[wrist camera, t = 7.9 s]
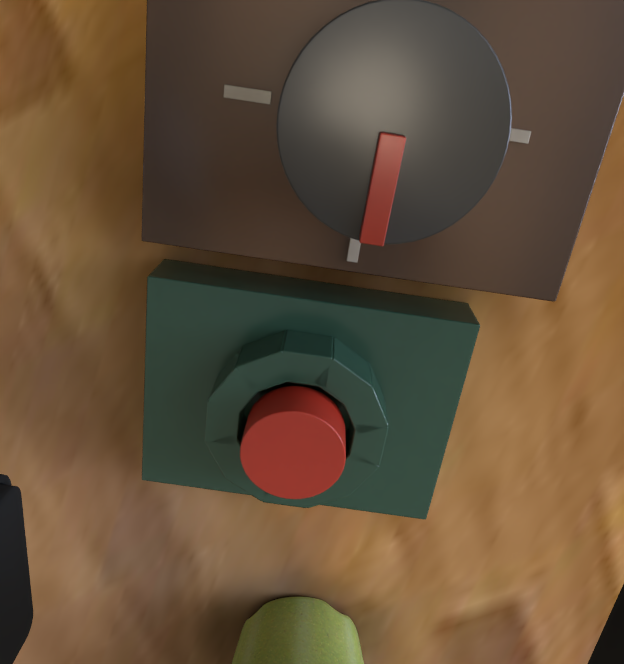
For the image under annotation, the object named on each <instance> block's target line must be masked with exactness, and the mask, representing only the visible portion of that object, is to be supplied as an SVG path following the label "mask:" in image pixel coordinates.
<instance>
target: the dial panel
mask: <svg viewBox="0 0 624 664" xmlns="http://www.w3.org/2000/svg"><path fill="white" fill-rule="evenodd" d="M369 1H374V0H147V26H146V70H145V114H144V158H143V202H142V241H146V242H153V243H160V244H167V245H173V246H180V247H187V248H194V249H201V250H207V251H214V252H221V253H228V254H235V255H241V256H248V257H255V258H262V259H269V260H275V261H282V262H289V263H296V264H303V265H309V266H316V267H323V268H330V269H337V270H343V271H350V272H357V273H364V274H370V275H377V276H384V277H391V278H398V279H404V280H411V281H418V282H425V283H432V284H438V285H445V286H452V287H459V288H466V289H472V290H479V291H486V292H493V293H500V294H506V295H513V296H520V297H527V298H534V299H540V300H547V301H556V298H557V295H558V292H559V289H560V286H561V283H562V280H563V277H564V274H565V271H566V268H567V265H568V262H569V259H570V256H571V253H572V250H573V247H574V244H575V241H576V238H577V235H578V232H579V229H580V226H581V223H582V220H583V216H584V213H585V210H586V207H587V204H588V201H589V198H590V195H591V192H592V189H593V186H594V183H595V180H596V177H597V174H598V171H599V168H600V165H601V162H602V159H603V156H604V153H605V150H606V147H607V144H608V141H609V138H610V135H611V132H612V129H613V126H614V123H615V120H616V117H617V114H618V110H619V107H620V104H621V101H622V98H623V95H624V0H426V1H430V2H434V3H437V4H439V5H441V6H444V7H446V8H448V9H451V10H452V11H454V12H456V13H457V14H459V15H460V16H462V17H464V18H465V19H466V20H467V21H469V22H470V23H471V24H472V25H473V26H475V27H476V28H477V29H478V30H479V31H480V33H481V34H482V35H483V36H484V37H485V38H486V39H487V41H488V42H489V44H490V45H491V47H492V48H493V50H494V51H495V53H496V54H497V56H498V58H499V61H500V63H501V65H502V67H503V69H504V72H505V75H506V79H507V82H508V85H509V91H510V97H511V107H512V122H511V134H510V139H509V143H508V148H507V152H506V154H505V157H504V160H503V163H502V166H501V168H500V170H499V172H498V174H497V176H496V178H495V180H494V182H493V183H492V185H491V186H490V188H489V189H488V191H487V193H486V194H485V195H484V196H483V197H482V199H481V200H480V201H479V202H478V204H477V205H476V206H475V207H474V208H473V209H472V210H470V211H469V212H468V213H467V214H466V215H465V216H464V217H463V218H461V219H460V220H459V221H457V222H456V223H455V224H453V225H452V226H450V227H448V228H446V229H445V230H443V231H441V232H439V233H437V234H435V235H432V236H430V237H428V238H424V239H421V240H418V241H414V242H409V243H403V244H386V245H384V246H376V245H370V244H364V243H360V242H359V241H358V240H355V239H352V238H350V237H347V236H344V235H342V234H340V233H338V232H336V231H334V230H333V229H331V228H329V227H328V226H326V225H325V224H324V223H322V222H321V221H319V220H318V219H317V218H316V217H315V216H314V215H313V214H312V213H311V212H310V211H309V210H308V209H307V208H306V207H305V206H304V204H303V203H302V202H301V201H300V200H299V198H298V197H297V195H296V193H295V192H294V190H293V189H292V187H291V185H290V183H289V181H288V179H287V177H286V175H285V172H284V169H283V166H282V163H281V160H280V155H279V150H278V145H277V131H276V124H277V110H278V105H279V99H280V95H281V91H282V88H283V85H284V82H285V79H286V77H287V75H288V73H289V70H290V68H291V66H292V64H293V62H294V61H295V59H296V58H297V56H298V54H299V53H300V51H301V50H302V48H303V47H304V46H305V45H306V44H307V42H308V41H309V40H310V39H311V37H312V36H313V35H314V34H316V33H317V32H318V31H319V30H320V29H321V28H322V27H323V26H324V25H325V24H327V23H328V22H329V21H331V20H332V19H334V18H335V17H336V16H338V15H340V14H341V13H343V12H345V11H347V10H349V9H351V8H353V7H355V6H358V5H361V4H364V3H367V2H369Z"/></svg>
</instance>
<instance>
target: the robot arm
mask: <svg viewBox="0 0 624 664" xmlns="http://www.w3.org/2000/svg"><path fill="white" fill-rule="evenodd" d="M32 619H33V605H32V596H31V586H30V576H29V566H28V557H27V547H26V537H25V527H24V518H23V508H22V498H21V492H20V489H19V487H17V486H12V485H11V481H10V479H9V477H8V476H7V475H3V474H0V664H13V662H14V660H15V658H16V656H17V655H18V653H19V651H20V649H21V647H22V646H23V644H24V642H25V640H26V638H27V636H28V634H29V631H30V628H31V624H32ZM588 664H624V584H623V587H622V589H621V591H620V593H619V596H618V598H617V600H616V602H615V604H614V607H613V609H612V611H611V613H610V615H609V618H608V620H607V622H606V624H605V627H604V629H603V631H602V633H601V635H600V638H599V640H598V642H597V644H596V646H595V649H594V651H593V653H592V655H591V658H590V660H589V662H588Z"/></svg>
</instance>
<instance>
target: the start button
mask: <svg viewBox="0 0 624 664" xmlns="http://www.w3.org/2000/svg"><path fill="white" fill-rule="evenodd" d="M240 460H241V464H242V467H243V469H244V471H245V473H246V474H247V476H248V477H249V479H250V480H251V481H252V482H253V483H254V484H255V485H256V486H258V487H259V488H260V489H262V490H263V491H265V492H267V493H269V494H271V495H274V496H277V497H281V498H286V499H303V498H309V497H313V496H315V495H318V494H320V493H322V492H324V491H326V490H327V489H329V488H330V487H331V486H332V485H333V484H334V483H335V482H336V481H337V480H338V479H339V477H340V475H341V474H342V472H343V469H344V466H345V461H346V438H345V422H344V418H343V416H342V413H341V411H340V410H339V408H338V407H337V405H336V404H335V403H334V402H333V401H332V400H331V399H330V398H328V397H327V396H326V395H324V394H323V393H321V392H319V391H317V390H314V389H311V388H307V387H303V386H287V387H281V388H277V389H275V390H272V391H270V392H268V393H267V394H265V395H264V396H262V397H261V398H260V399H259V400H258V401H257V402H256V403H255V404H254V405H253V407H252V409H251V410H250V413H249V415H248V419H247V422H246V426H245V430H244V434H243V438H242V441H241V446H240Z"/></svg>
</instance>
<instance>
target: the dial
mask: <svg viewBox="0 0 624 664" xmlns="http://www.w3.org/2000/svg"><path fill="white" fill-rule="evenodd" d="M511 122H512V107H511V97H510V91H509V85H508V82H507V79H506V75H505V72H504V69H503V67H502V65H501V63H500V61H499V58H498V56H497V54H496V53H495V51H494V50H493V48H492V47H491V45H490V44H489V42H488V41H487V39H486V38H485V37H484V36H483V35H482V34H481V33H480V31H479V30H478V29H477V28H476V27H475V26H473V25H472V24H471V23H470V22H469V21H467V20H466V19H465V18H464V17H462V16H460V15H459V14H457V13H456V12H454V11H452V10H451V9H448V8H446V7H444V6H441V5H439V4H437V3H434V2H430V1H426V0H374V1H369V2H367V3H364V4H361V5H358V6H355V7H353V8H351V9H349V10H347V11H345V12H343V13H341V14H340V15H338V16H336V17H335V18H334V19H332V20H331V21H329V22H328V23H327V24H325V25H324V26H323V27H322V28H321V29H320V30H319V31H318V32H317V33H316V34H314V35H313V36H312V37H311V39H310V40H309V41H308V42H307V44H306V45H305V46H304V47H303V48H302V50H301V51H300V53H299V54H298V56H297V58H296V59H295V61H294V62H293V64H292V66H291V68H290V70H289V73H288V75H287V77H286V79H285V82H284V85H283V88H282V91H281V95H280V99H279V105H278V110H277V124H276V131H277V145H278V150H279V155H280V160H281V163H282V166H283V169H284V172H285V175H286V177H287V179H288V181H289V183H290V185H291V187H292V189H293V190H294V192H295V193H296V195H297V197H298V198H299V200H300V201H301V202H302V203H303V204H304V206H305V207H306V208H307V209H308V210H309V211H310V212H311V213H312V214H313V215H314V216H315V217H316V218H317V219H318V220H319V221H321V222H322V223H324V224H325V225H326V226H328V227H329V228H331V229H333V230H334V231H336V232H338V233H340V234H342V235H344V236H347V237H350V238H352V239H355V240H358V241H359V242H360V243H364V244H370V245H376V246H384V245H386V244H403V243H409V242H414V241H418V240H421V239H424V238H428V237H430V236H432V235H435V234H437V233H439V232H441V231H443V230H445V229H446V228H448V227H450V226H452V225H453V224H455V223H456V222H457V221H459V220H460V219H461V218H463V217H464V216H465V215H466V214H467V213H468V212H469V211H470V210H472V209H473V208H474V207H475V206H476V205H477V204H478V202H479V201H480V200H481V199H482V197H483V196H484V195H485V194H486V193H487V191H488V189H489V188H490V186H491V185H492V183H493V182H494V180H495V178H496V176H497V174H498V172H499V170H500V168H501V166H502V163H503V160H504V157H505V154H506V152H507V148H508V143H509V139H510V134H511Z"/></svg>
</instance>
